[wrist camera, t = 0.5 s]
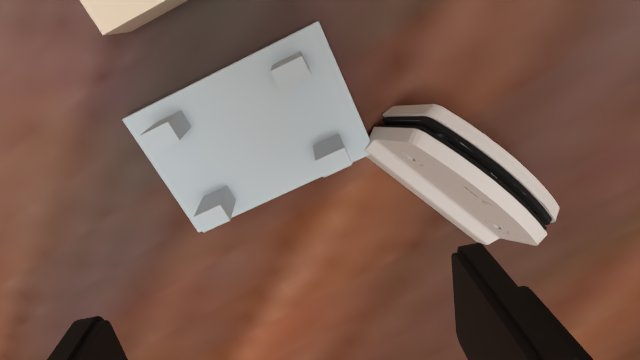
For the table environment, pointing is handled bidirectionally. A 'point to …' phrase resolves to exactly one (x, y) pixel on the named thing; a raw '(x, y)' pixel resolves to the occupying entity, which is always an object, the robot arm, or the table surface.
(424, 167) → the white router
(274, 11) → the table surface
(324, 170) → the rack
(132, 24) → the clay bar
